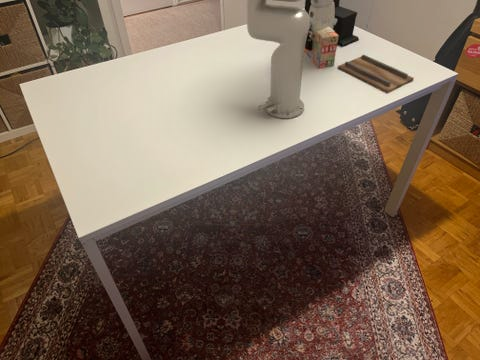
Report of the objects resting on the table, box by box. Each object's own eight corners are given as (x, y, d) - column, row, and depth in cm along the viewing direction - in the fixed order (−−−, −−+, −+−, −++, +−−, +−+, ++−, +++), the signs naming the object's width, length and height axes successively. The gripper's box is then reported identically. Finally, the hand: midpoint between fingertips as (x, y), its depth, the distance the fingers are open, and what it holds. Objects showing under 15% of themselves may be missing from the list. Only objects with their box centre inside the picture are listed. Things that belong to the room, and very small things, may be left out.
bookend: (359, 40, 157) (370, -21, 140) (342, 47, 152) (351, -14, 136) (318, 24, 170) (324, -32, 154) (301, 31, 166) (306, -27, 149)
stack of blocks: (298, 46, 155) (300, 16, 146) (312, 44, 156) (315, 14, 147) (318, 69, 140) (322, 37, 131) (334, 66, 141) (338, 34, 132)
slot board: (386, 93, 125) (388, 86, 123) (337, 68, 139) (338, 62, 137) (413, 80, 131) (415, 74, 129) (363, 57, 145) (364, 51, 143)
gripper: (311, 8, 127) (307, 55, 139) (347, -3, 134) (340, 43, 145) (297, 2, 131) (294, 49, 143) (332, -8, 138) (326, 37, 150)
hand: (317, 46), depth 144 cm, fingers open, 9 cm apart
